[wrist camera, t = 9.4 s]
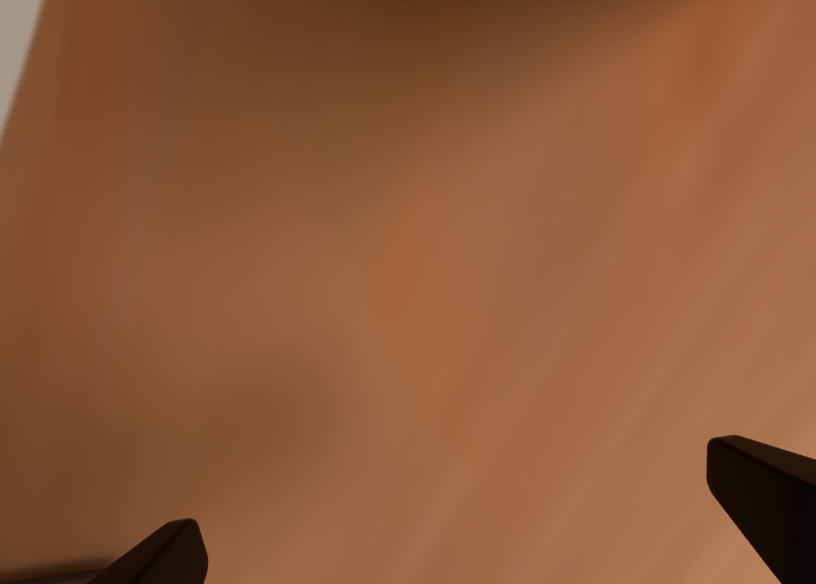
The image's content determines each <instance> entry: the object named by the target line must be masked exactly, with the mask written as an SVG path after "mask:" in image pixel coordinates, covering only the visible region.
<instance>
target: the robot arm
mask: <svg viewBox="0 0 816 584" xmlns="http://www.w3.org/2000/svg"><path fill="white" fill-rule="evenodd" d="M706 478H707V483H708V486H709V489H710V491H711V493H712V494H713V496H714V497H715V498H716V500H717V501H718V502H719V504H720V505H721V506H722V508H723V509H724V510H725V511H726V513H727V514H728V515H729V517H730V518H731V519H732V521H733V522H734V523H735V524H736V526H737V527H738V528H739V530H740V531H741V532H742V534H743V535H744V536H745V537H746V539H747V540H748V541H749V543H750V544H751V545H752V547H753V548H754V549H755V550H756V552H757V553H758V554H759V556H760V557H761V558H762V560H763V561H764V562H765V564H766V565H767V566H768V567H769V569H770V570H771V571H772V573H773V574H774V575H775V576H776V578H777V579H778V580H779V581H780V582H781V584H816V460H815V459H812V458H809V457H806V456H803V455H799V454H796V453H793V452H790V451H786V450H783V449H780V448H777V447H774V446H770V445H767V444H764V443H761V442H757V441H754V440H751V439H748V438H745V437H741V436H738V435H728V436H722V437H715V438H712V439H711V440H709V442H708V444H707V473H706ZM207 570H208V555H207V552H206V548H205V545H204V542H203V539H202V535H201V532H200V529H199V526H198V523H197V522H196V521H195V520H194V519H191V518H188V519H181V520H175V521H170V522H168V523H166V524H165V525H163V526H162V527H161V528H159V529H158V530H157V531H155V532H154V533H152V534H151V535H150V536H148V537H147V538H146V539H144V540H143V541H142V542H140V543H139V544H138V545H136V546H135V547H134V548H132V549H131V550H130V551H128V552H127V553H126V554H124V555H123V556H122V557H120V558H119V559H118V560H116V561H115V562H114V563H112V564H111V565H109V566H108V567H107V568H105V569H104V570H103V571H101V572H100V573H99V574H97V575H96V576H95V577H93V578H92V579H91V580H89V581H88V582H87V583H85V584H204V581H205V578H206V574H207Z"/></svg>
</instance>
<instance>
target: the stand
mask: <svg viewBox="0 0 816 584" xmlns="http://www.w3.org/2000/svg"><path fill="white" fill-rule="evenodd" d="M103 570H104V569H100V570H93V571H87V572H80V573H73V574H67V575H60V576H53V577H47V578H40V579H33V580H27V581H20V582H13V583H7V584H85V583H87V582H88V581H89V580H91V579H92V578H93V577H95V576H96V575H97V574H99V573H100V572H101V571H103Z"/></svg>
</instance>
